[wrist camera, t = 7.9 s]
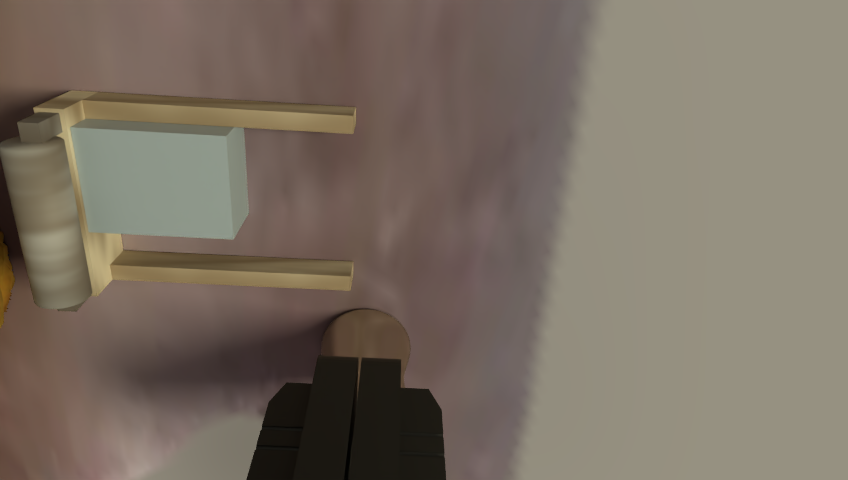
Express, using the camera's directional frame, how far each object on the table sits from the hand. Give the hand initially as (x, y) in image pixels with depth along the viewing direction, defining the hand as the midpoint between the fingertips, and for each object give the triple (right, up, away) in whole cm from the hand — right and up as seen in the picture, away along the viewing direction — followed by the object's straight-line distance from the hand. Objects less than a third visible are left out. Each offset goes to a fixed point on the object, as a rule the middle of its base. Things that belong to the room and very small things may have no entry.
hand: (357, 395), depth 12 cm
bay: (-11, +6, +27) cm, 30 cm away
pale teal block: (-13, +8, +26) cm, 30 cm away
